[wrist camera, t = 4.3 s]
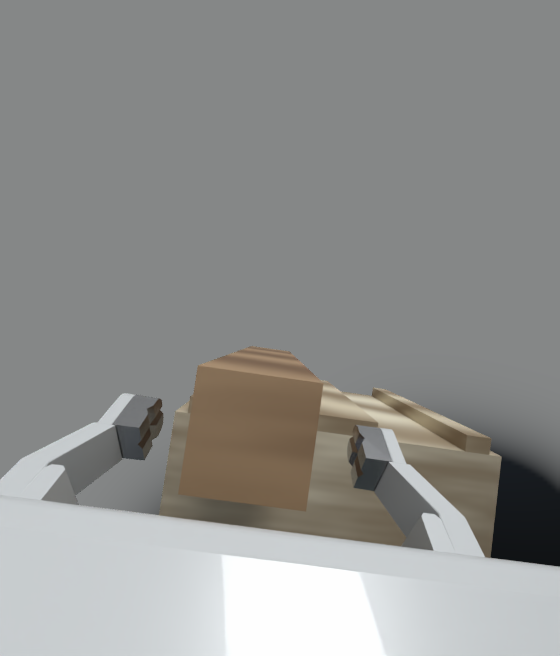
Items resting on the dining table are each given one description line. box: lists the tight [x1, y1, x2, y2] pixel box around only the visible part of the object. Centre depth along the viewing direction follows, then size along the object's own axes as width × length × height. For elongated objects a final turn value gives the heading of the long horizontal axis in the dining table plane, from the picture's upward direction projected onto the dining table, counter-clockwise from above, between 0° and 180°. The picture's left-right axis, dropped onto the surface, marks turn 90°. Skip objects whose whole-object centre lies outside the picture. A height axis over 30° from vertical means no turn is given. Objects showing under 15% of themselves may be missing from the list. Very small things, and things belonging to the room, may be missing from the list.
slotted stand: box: [159, 380, 501, 558], centre depth 24 cm, size 16×20×27 cm
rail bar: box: [178, 346, 324, 512], centre depth 19 cm, size 20×4×4 cm, turn 1°
